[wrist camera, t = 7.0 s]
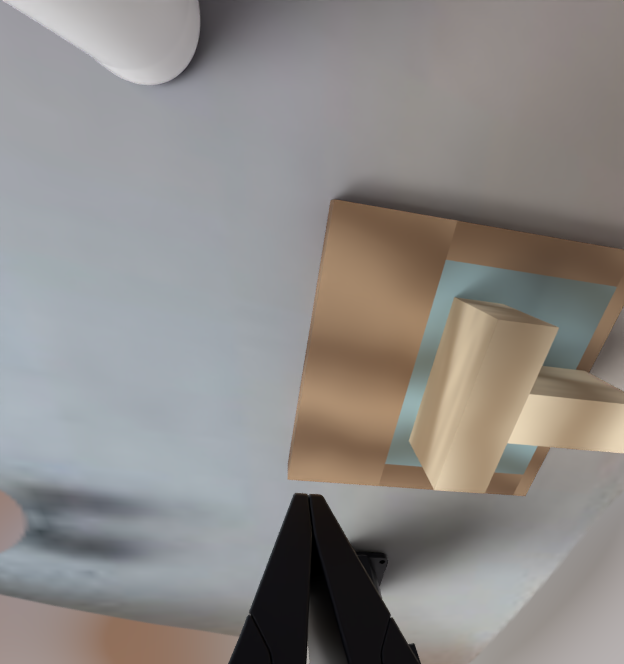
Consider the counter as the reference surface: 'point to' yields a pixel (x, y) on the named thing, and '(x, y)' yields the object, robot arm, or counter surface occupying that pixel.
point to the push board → (428, 332)
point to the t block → (505, 398)
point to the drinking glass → (124, 33)
